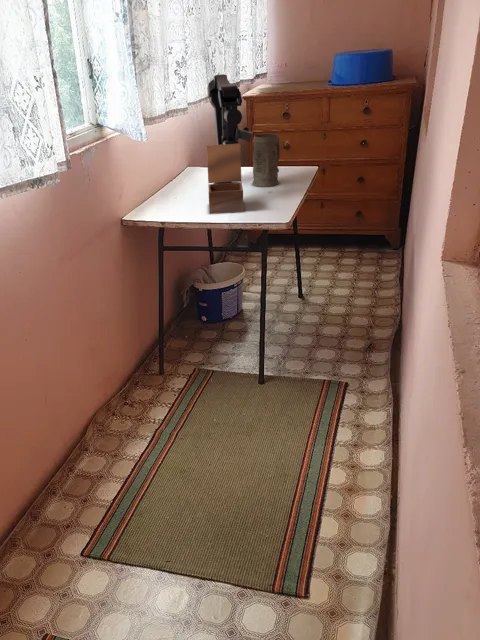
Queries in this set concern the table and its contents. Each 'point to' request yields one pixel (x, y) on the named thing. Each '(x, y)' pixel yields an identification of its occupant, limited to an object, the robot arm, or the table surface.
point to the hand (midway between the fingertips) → (230, 164)
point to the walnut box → (225, 198)
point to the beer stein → (266, 160)
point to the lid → (224, 163)
